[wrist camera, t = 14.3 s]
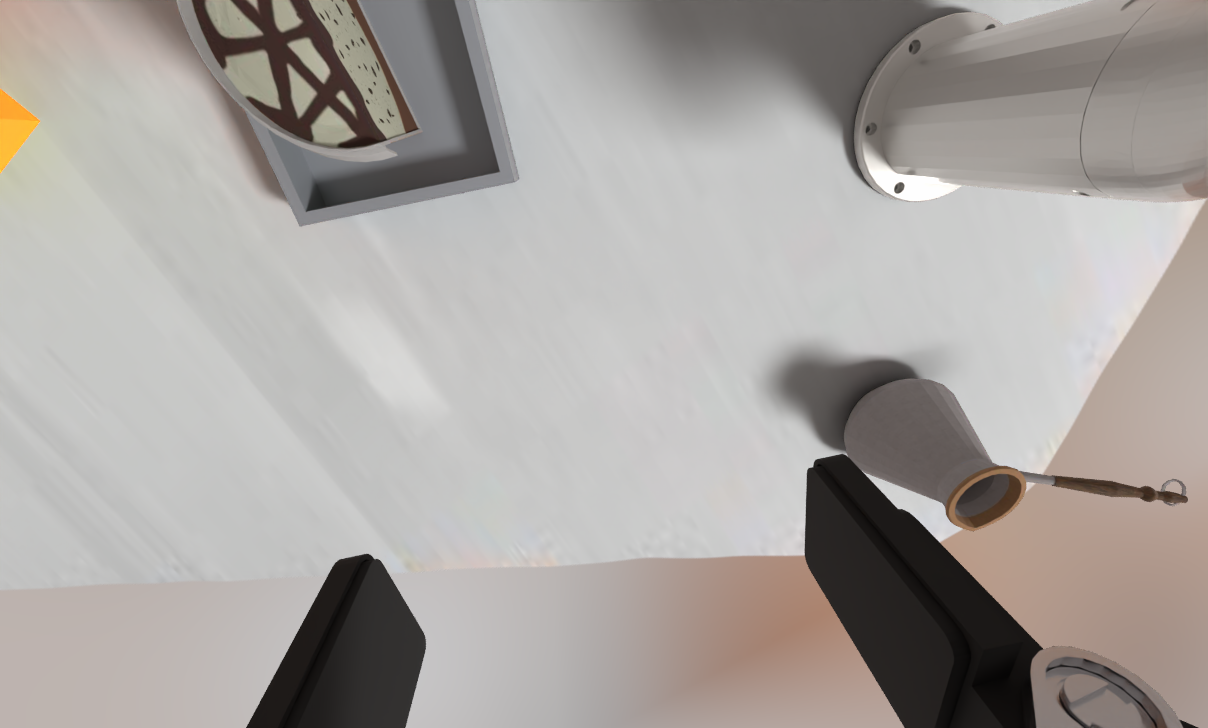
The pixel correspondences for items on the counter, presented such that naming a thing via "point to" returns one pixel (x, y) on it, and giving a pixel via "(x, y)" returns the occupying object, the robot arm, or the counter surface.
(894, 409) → the coffee pot
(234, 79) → the food container
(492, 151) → the grey bin
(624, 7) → the counter surface
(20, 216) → the counter surface
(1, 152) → the orange juice
